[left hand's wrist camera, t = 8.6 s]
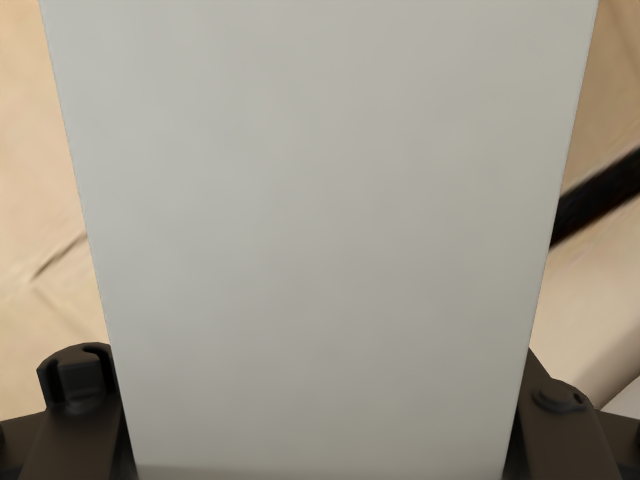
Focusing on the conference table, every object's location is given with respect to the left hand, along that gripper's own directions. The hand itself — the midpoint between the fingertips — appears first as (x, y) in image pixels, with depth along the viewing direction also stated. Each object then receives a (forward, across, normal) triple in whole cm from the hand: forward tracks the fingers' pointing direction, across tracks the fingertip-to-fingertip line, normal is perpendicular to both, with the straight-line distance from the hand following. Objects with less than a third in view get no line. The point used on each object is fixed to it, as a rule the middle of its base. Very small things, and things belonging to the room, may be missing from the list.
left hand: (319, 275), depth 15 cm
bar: (+1, 0, -9) cm, 9 cm away
